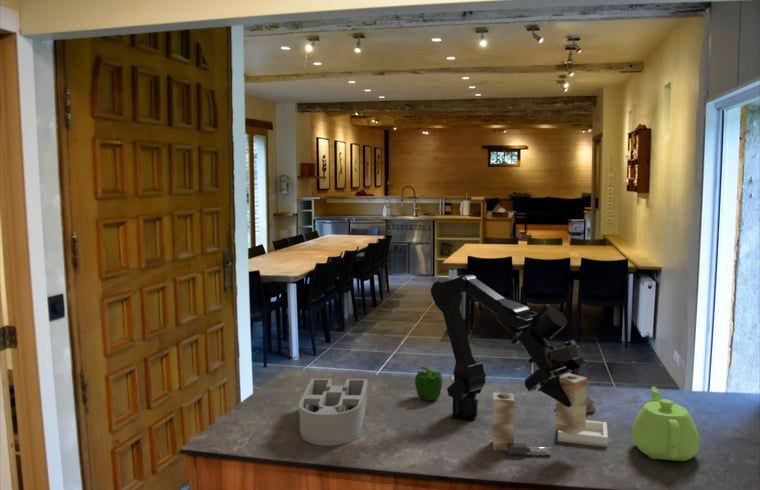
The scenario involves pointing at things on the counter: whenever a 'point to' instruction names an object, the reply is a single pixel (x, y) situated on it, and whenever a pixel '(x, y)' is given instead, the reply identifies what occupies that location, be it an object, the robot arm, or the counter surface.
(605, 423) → the tray
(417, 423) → the counter surface
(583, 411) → the block
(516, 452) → the pin gauge
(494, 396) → the block
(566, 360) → the robot arm
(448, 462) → the counter surface
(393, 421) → the counter surface
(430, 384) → the bell pepper
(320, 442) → the grey compartment organizer
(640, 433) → the teapot
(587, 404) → the mineral specimen
